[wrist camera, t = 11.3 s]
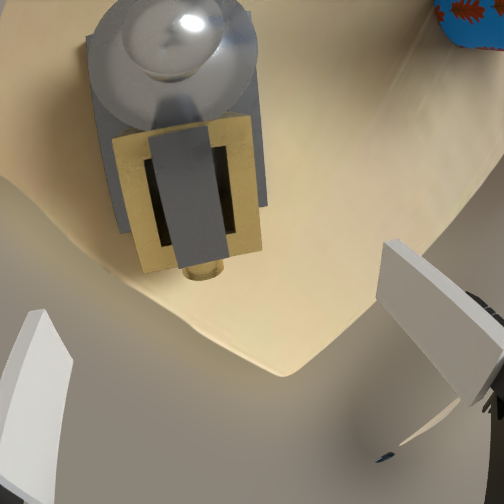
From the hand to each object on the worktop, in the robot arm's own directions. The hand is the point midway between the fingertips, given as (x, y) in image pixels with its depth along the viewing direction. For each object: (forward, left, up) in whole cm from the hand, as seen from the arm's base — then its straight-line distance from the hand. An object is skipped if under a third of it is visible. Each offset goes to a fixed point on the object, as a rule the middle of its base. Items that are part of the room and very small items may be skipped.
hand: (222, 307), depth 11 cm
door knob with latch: (-5, 0, -24) cm, 24 cm away
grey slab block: (0, 0, -22) cm, 22 cm away
